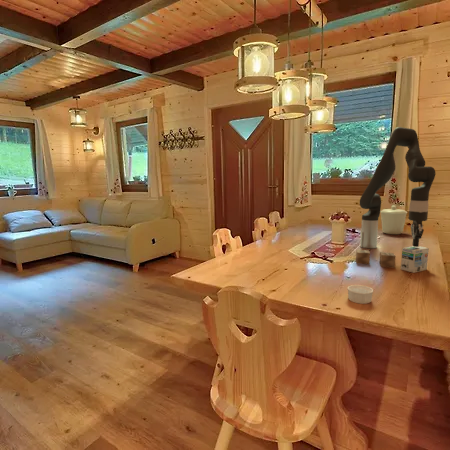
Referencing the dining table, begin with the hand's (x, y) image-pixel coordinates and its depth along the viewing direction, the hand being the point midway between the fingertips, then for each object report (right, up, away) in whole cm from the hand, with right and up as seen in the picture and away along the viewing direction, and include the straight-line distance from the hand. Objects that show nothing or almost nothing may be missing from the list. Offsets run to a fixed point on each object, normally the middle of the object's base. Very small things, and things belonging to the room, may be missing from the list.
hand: (415, 246), depth 148 cm
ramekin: (-40, -18, -32) cm, 54 cm away
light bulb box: (0, -12, +2) cm, 12 cm away
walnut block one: (-9, -10, +9) cm, 16 cm away
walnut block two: (-18, -10, +15) cm, 26 cm away
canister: (+36, +4, +88) cm, 95 cm away
